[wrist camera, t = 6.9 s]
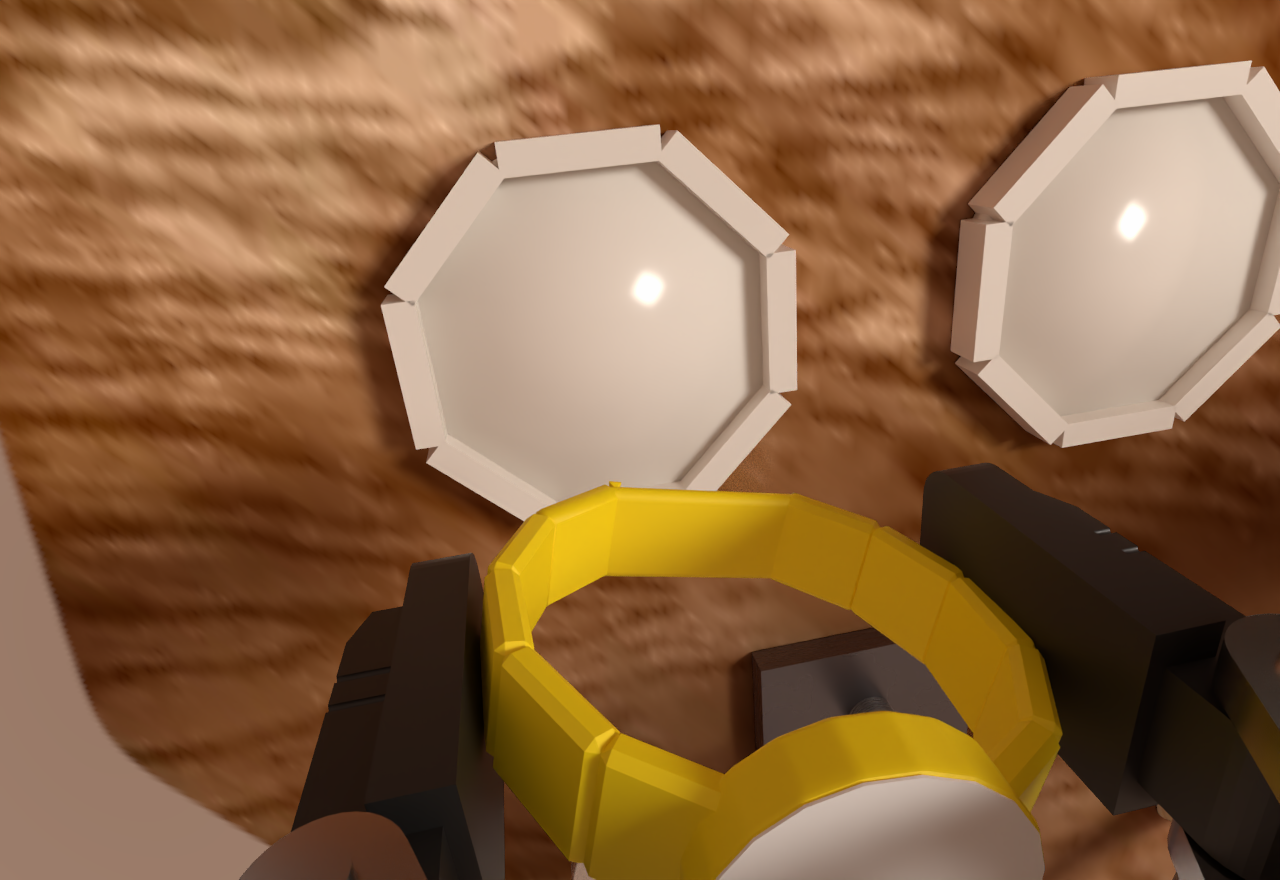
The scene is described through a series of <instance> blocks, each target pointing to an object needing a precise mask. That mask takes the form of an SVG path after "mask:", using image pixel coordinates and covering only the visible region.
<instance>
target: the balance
mask: <svg viewBox="0 0 1280 880" xmlns="http://www.w3.org/2000/svg"><path fill="white" fill-rule="evenodd" d="M752 668H753V692H754V715H755V738H756V751H757V750H758V749H760V748H761V747H763V746H764V745H766V744H767V743H769V742H770V741H772V740H773V739H775V738H777V737H779V736H781V735H784V734H786V733H789V732H791V731H794V730H797V729H799V728H802V727H805V726H807V725H810V724H813V723H815V722H818V721H821V720H823V719H826V718H830V717H835V716H842V715H850V714H858V713H866V712H874V711H893V712H900V713H907V714H914V715H921V716H927V717H931V718H935V719H938V720H940V721H942V722H944V723H946V724H948V725H950V726H952V727H954V728H955V729H957V730H959V731H961V732H963V733H965V734H967V726H968V725H967V724H966V722H965V721H964V719H963V718H962V717H961V715H960V714H959V712H958V711H957V709H956V708H955V707H954V705H953V704H952V702H951V701H950V699H949V698H948V697H947V695H946V694H945V692H944V691H943V689H942V688H941V687H940V685H939V684H938V682H937V681H936V679H935V678H934V677H933V675H932V674H931V672H930V671H929V669H928V668H927V667H926V665H925V664H923V663H922V662H920V661H919V660H917V659H916V658H915V657H913V656H912V655H911V654H909V653H908V652H907V651H905V650H904V649H902V648H901V647H900V646H898V645H897V644H896V643H894V642H893V641H891V640H890V639H889V638H887V637H886V636H885V635H883V634H882V633H881V632H879V631H878V630H876V629H875V628H870V629H865V630H860V631H855V632H850V633H845V634H840V635H835V636H831V637H826V638H821V639H816V640H811V641H806V642H801V643H796V644H791V645H786V646H781V647H776V648H771V649H766V650H761V651H756V652H752ZM571 873H572V880H596V879H593V878H591V877H589V876H588V873H587V871H586V868H585V866H584V863H575V862H572V864H571ZM1172 880H1180V879H1179V877H1178V874H1177V872H1176V874H1175V875H1174V877H1173V879H1172Z"/></svg>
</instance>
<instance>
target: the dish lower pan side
mask: <svg viewBox="0 0 1280 880" xmlns="http://www.w3.org/2000/svg"><path fill="white" fill-rule="evenodd" d="M494 143H495V149H496V155H497V158H496V159H494V160H493V161H491V160H489V159H488V158H487V157H486V156H484V155H483V154H482V153H481V152H479V151H478V152H477V154H476V155H475V157H474V158H473V160H472V161H471V163H470V164H469V165H468V167H467V168H466V170H465V171H464V173H463V174H462V175H461V177H460V178H459V180H458V181H457V183H456V184H455V185H454V187H453V188H452V190H451V191H450V193H449V194H448V196H447V197H446V198H445V200H444V201H443V203H442V204H441V206H440V207H439V208H438V210H437V211H436V213H435V214H434V216H433V217H432V219H431V220H430V221H429V223H428V224H427V226H426V227H425V229H424V230H423V231H422V233H421V234H420V236H419V237H418V239H417V240H416V242H415V243H414V244H413V246H412V247H411V249H410V250H409V252H408V253H407V254H406V256H405V257H404V259H403V260H402V262H401V263H400V265H399V266H398V267H397V269H396V270H395V272H394V273H393V275H392V276H391V277H390V279H389V280H388V282H387V283H386V285H385V286H384V287H385V288H386V289H388V290H389V291H391V292H392V293H393V294H391V295H387V297H386V298H385V299H384V301H383V302H382V304H381V308H382V312H383V316H384V321H385V325H386V329H387V333H388V337H389V341H390V345H391V349H392V353H393V357H394V361H395V366H396V370H397V374H398V378H399V382H400V386H401V390H402V394H403V398H404V402H405V407H406V411H407V415H408V419H409V423H410V427H411V431H412V435H413V439H414V443H415V447H416V450H418V449H424V448H429V452H428V456H427V461H426V463H427V464H429V465H431V466H432V467H434V468H436V469H437V470H439V471H441V472H442V473H444V474H446V475H447V476H449V477H451V478H452V479H454V480H456V481H457V482H459V483H461V484H462V485H464V486H466V487H467V488H469V489H471V490H472V491H474V492H476V493H477V494H479V495H481V496H482V497H484V498H486V499H487V500H489V501H491V502H493V503H494V504H496V505H498V506H499V507H501V508H503V509H504V510H506V511H508V512H509V513H511V514H513V515H514V516H516V517H518V518H519V519H521V520H523V521H525V520H526V519H527V518H528V517H530V516H531V515H533V514H536V512H537V511H539V510H540V509H542V508H545V507H547V506H550V505H553V504H555V503H558V502H560V501H563V500H566V499H568V498H571V497H573V496H576V495H579V494H581V493H584V492H586V491H589V490H592V489H594V488H597V487H599V486H602V485H607V486H609V481H614V482H621V486H620V487H632V488H656V489H680V490H704V491H717V489H718V488H719V487H720V486H721V485H722V484H723V483H724V481H725V480H726V479H727V478H728V477H729V476H730V475H731V473H732V472H733V471H734V470H735V469H736V468H737V467H738V465H739V464H740V463H741V462H742V461H743V460H744V458H745V457H746V456H747V455H748V454H749V453H750V452H751V450H752V449H753V448H754V447H755V446H756V445H757V444H758V442H759V441H760V440H761V439H762V438H763V437H764V436H765V434H766V433H767V432H768V431H769V430H770V429H771V428H772V426H773V425H774V424H775V423H776V422H777V421H778V419H779V418H780V417H781V416H782V415H783V414H784V413H785V411H786V410H787V409H788V408H789V407H790V406H791V404H790V403H789V402H788V401H787V400H786V399H785V398H784V397H783V396H782V395H781V394H780V393H781V392H787V391H793V390H797V325H796V250H794V249H792V248H789V247H787V246H784V245H782V243H783V241H784V240H785V239H786V238H787V237H788V235H789V234H788V233H787V232H786V231H785V230H784V229H783V228H782V227H781V226H780V225H778V224H777V223H776V222H775V221H774V220H773V219H772V218H771V217H770V216H769V215H768V214H767V213H766V212H765V211H763V210H762V209H761V208H760V207H759V206H758V205H757V204H756V203H755V202H754V201H753V200H752V199H751V198H749V197H748V196H747V195H746V194H745V193H744V192H743V191H742V190H741V189H740V188H739V187H738V186H737V185H735V184H734V183H733V182H732V181H731V180H730V179H729V178H728V177H727V176H726V175H725V174H724V173H723V172H721V171H720V170H719V169H718V168H717V167H716V166H715V165H714V164H713V163H712V162H711V161H710V160H709V159H707V158H706V157H705V156H704V155H703V154H702V153H701V152H700V151H699V150H698V149H697V148H696V147H695V146H693V145H692V144H691V143H690V142H689V141H688V140H687V139H686V138H685V137H684V136H683V135H682V134H681V133H679V132H678V131H666V132H665V134H664V135H663V136H662V138H661V136H660V125H644V126H635V127H626V128H616V129H607V130H598V131H589V132H579V133H570V134H561V135H551V136H542V137H533V138H524V139H514V140H505V141H496V142H494Z"/></svg>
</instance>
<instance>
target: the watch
mask: <svg viewBox="0 0 1280 880" xmlns="http://www.w3.org/2000/svg"><path fill="white" fill-rule="evenodd" d="M620 486H621V482H614V481H609V486H607V485H602V486H599V487H597V488H594V489H592V490H589V491H586V492H584V493H581V494H579V495H576V496H573V497H571V498H568V499H566V500H563V501H560V502H558V503H555V504H553V505H550V506H547V507H545V508H542V509H540V510H539V511H537V512H536V514H533V515H531V516H530V517H528V518H527V519H526V520H525V521H524V522H523V524H522V525H521V526H520V527H519V529H518V530H517V531H516V532H515V534H514V535H513V536H512V537H511V539H510V540H509V541H508V542H507V544H506V545H505V546H504V547H503V549H502V550H501V551H500V552H499V554H498V555H497V556H496V557H495V559H494V560H493V561H492V562H491V564H490V565H489V566H488V575H487V576H486V577H485V581H484V595H483V610H482V624H481V638H480V657H481V678H482V698H483V719H484V735H485V746H486V752H488V753H489V754H490V755H492V756H493V757H494V760H493V768H494V770H495V771H496V772H497V773H498V775H499V776H500V777H501V778H502V779H503V781H504V782H505V783H506V784H507V786H508V787H509V788H510V789H511V790H512V792H513V793H514V794H515V795H516V797H517V798H518V799H519V800H520V802H521V803H522V804H523V805H524V806H525V808H526V809H527V810H528V811H529V813H530V814H531V815H532V816H533V818H534V819H535V820H536V821H537V822H538V824H539V825H540V826H541V827H542V829H543V830H544V831H545V832H546V834H547V835H548V836H549V837H550V838H551V840H552V841H553V842H554V843H555V845H556V846H557V847H558V848H559V850H560V851H561V852H562V853H563V854H564V856H565V857H566V858H567V859H568V861H571V862H575V863H584V866H585V868H586V871H587V873H588V876H589V877H591V878H593V879H596V880H1042V878H1043V875H1044V871H1045V865H1044V856H1043V849H1042V843H1041V836H1040V830H1039V827H1038V824H1037V822H1036V820H1035V818H1034V817H1033V816H1032V814H1031V811H1032V808H1033V806H1034V804H1035V802H1036V800H1037V797H1038V795H1039V793H1040V791H1041V789H1042V786H1043V784H1044V782H1045V780H1046V778H1047V775H1048V773H1049V771H1050V769H1051V767H1052V764H1053V762H1054V760H1055V758H1056V756H1057V753H1058V751H1059V749H1060V746H1059V744H1058V743H1059V741H1060V739H1061V737H1062V734H1063V733H1062V729H1061V725H1060V721H1059V717H1058V713H1057V709H1056V705H1055V701H1054V697H1053V692H1052V688H1051V684H1050V680H1049V676H1048V672H1047V668H1046V664H1045V660H1044V658H1043V657H1042V655H1041V653H1040V652H1039V650H1038V649H1035V645H1034V642H1033V641H1032V639H1031V638H1030V637H1029V636H1028V635H1027V634H1026V633H1025V632H1024V631H1023V630H1022V629H1021V628H1020V627H1019V626H1018V625H1017V624H1016V622H1015V621H1014V620H1012V619H1011V618H1010V617H1009V616H1008V615H1007V614H1006V613H1005V612H1004V611H1003V610H1002V609H1001V608H1000V607H999V606H998V605H997V604H996V603H995V602H994V601H993V600H991V599H990V598H989V597H988V596H987V595H986V594H985V593H984V592H983V591H982V590H981V589H980V588H979V587H978V586H977V585H976V584H975V583H974V582H973V581H972V580H970V579H969V578H964V576H963V573H962V571H961V570H960V569H959V568H958V567H956V566H955V565H953V564H951V563H950V562H948V561H946V560H945V559H943V558H941V557H939V556H938V555H936V554H934V553H933V552H931V551H929V550H928V549H926V548H924V547H922V546H921V545H919V544H917V543H916V542H914V541H912V540H911V539H909V538H907V537H905V536H904V535H902V534H900V533H899V532H897V531H895V530H893V529H892V528H890V527H888V526H885V527H881V528H880V526H879V525H878V523H877V521H875V520H872V519H869V518H866V517H863V516H861V515H858V514H855V513H852V512H849V511H846V510H843V509H840V508H837V507H834V506H831V505H828V504H826V503H823V502H820V501H817V500H814V499H811V498H808V497H805V496H802V495H799V494H796V493H793V494H776V493H752V492H728V491H704V490H680V489H656V488H632V487H620ZM603 576H642V577H716V578H771V579H772V580H775V581H777V582H780V583H782V584H785V585H787V586H790V587H792V588H795V589H797V590H800V591H802V592H805V593H807V594H810V595H812V596H815V597H817V598H820V599H822V600H825V601H827V602H830V603H832V604H835V605H837V606H840V607H842V608H845V609H847V610H852V611H853V612H854V613H855V614H856V615H857V616H859V617H860V618H861V619H863V620H864V621H866V622H867V623H868V624H870V625H871V626H872V627H874V628H875V629H876V630H878V631H879V632H881V633H882V634H883V635H885V636H886V637H887V638H889V639H890V640H891V641H893V642H894V643H896V644H897V645H898V646H900V647H901V648H902V649H904V650H905V651H907V652H908V653H909V654H911V655H912V656H913V657H915V658H916V659H917V660H919V661H920V662H922V663H923V664H925V665H926V667H927V668H928V669H929V671H930V672H931V674H932V675H933V677H934V678H935V679H936V681H937V682H938V684H939V685H940V687H941V688H942V689H943V691H944V692H945V694H946V695H947V697H948V698H949V699H950V701H951V702H952V704H953V705H954V707H955V708H956V709H957V711H958V712H959V714H960V715H961V717H962V718H963V719H964V721H965V722H966V724H967V725H968V727H969V728H970V729H971V731H972V732H973V738H974V739H973V738H972V737H970V736H969V735H967V734H965V733H963V732H961V731H959V730H957V729H955V728H954V727H952V726H950V725H948V724H946V723H944V722H942V721H940V720H938V719H935V718H931V717H927V716H921V715H914V714H907V713H900V712H893V711H874V712H866V713H858V714H850V715H842V716H835V717H830V718H826V719H823V720H821V721H818V722H815V723H813V724H810V725H807V726H805V727H802V728H799V729H797V730H794V731H791V732H789V733H786V734H784V735H781V736H779V737H777V738H775V739H773V740H772V741H770V742H769V743H767V744H766V745H764V746H763V747H761V748H760V749H758V750H757V751H755V752H754V753H752V754H751V755H749V756H748V757H746V758H745V759H743V760H742V761H740V762H739V763H737V764H736V765H734V766H733V767H732V768H731V769H730V770H729V771H728V772H727V773H726V774H722V773H720V772H717V771H715V770H712V769H710V768H707V767H705V766H702V765H700V764H697V763H695V762H692V761H690V760H687V759H685V758H682V757H680V756H677V755H675V754H672V753H670V752H667V751H665V750H662V749H660V748H657V747H655V746H652V745H650V744H647V743H644V742H642V741H639V740H637V739H634V738H632V737H629V736H627V735H624V734H622V733H620V732H619V731H618V730H617V729H616V728H615V727H614V726H613V725H612V724H611V723H610V722H609V721H608V720H607V719H606V718H605V717H604V716H603V715H602V714H601V713H600V712H599V711H598V710H597V709H596V708H595V707H594V706H592V705H591V704H590V703H589V702H588V701H587V700H586V699H585V698H584V697H583V696H582V695H581V694H580V693H579V692H578V691H577V690H576V689H575V688H574V687H573V686H572V685H571V684H570V683H569V682H568V681H567V680H565V679H564V678H563V677H562V676H561V675H560V674H559V673H558V672H557V671H556V670H555V669H554V668H553V667H552V666H551V665H550V664H549V663H548V662H547V661H546V660H545V659H544V658H543V657H542V656H541V655H540V654H538V653H537V652H536V651H535V650H534V644H533V639H532V634H531V632H532V630H533V628H534V627H535V625H536V623H537V622H538V620H539V618H540V617H541V615H542V613H543V612H544V610H545V608H546V606H548V605H550V604H552V603H553V602H555V601H557V600H559V599H561V598H563V597H565V596H567V595H569V594H571V593H572V592H574V591H576V590H578V589H580V588H582V587H584V586H586V585H588V584H589V583H591V582H593V581H595V580H597V579H599V578H601V577H603Z"/></svg>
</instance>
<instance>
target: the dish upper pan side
mask: <svg viewBox="0 0 1280 880" xmlns="http://www.w3.org/2000/svg"><path fill="white" fill-rule="evenodd" d="M1251 62H1252V61H1243V62H1232V63H1222V64H1211V65H1202V66H1192V67H1183V68H1174V69H1164V70H1155V71H1146V72H1137V73H1127V74H1118V75H1109V76H1099V77H1090V78H1085V81H1084V86H1072V87H1069V88H1068V89H1067V91H1066V92H1065V93H1064V94H1063V95H1062V96H1061V98H1060V99H1059V100H1058V101H1057V102H1056V103H1055V104H1054V106H1053V107H1052V108H1051V109H1050V110H1049V111H1048V112H1047V114H1046V115H1045V116H1044V117H1043V118H1042V119H1041V120H1040V122H1039V123H1038V124H1037V125H1036V126H1035V127H1034V128H1033V130H1032V131H1031V132H1030V133H1029V134H1028V135H1027V136H1026V138H1025V139H1024V140H1023V141H1022V142H1021V143H1020V145H1019V146H1018V147H1017V148H1016V149H1015V150H1014V151H1013V153H1012V154H1011V155H1010V156H1009V157H1008V158H1007V159H1006V161H1005V162H1004V163H1003V164H1002V165H1001V166H1000V167H999V169H998V170H997V171H996V172H995V173H994V174H993V175H992V177H991V178H990V179H989V180H988V181H987V182H986V183H985V185H984V186H983V187H982V188H981V189H980V190H979V192H978V193H977V194H976V195H975V196H974V197H973V198H972V200H971V201H970V202H969V203H968V205H969V206H970V207H971V208H972V209H973V210H974V211H975V212H976V213H975V215H974V217H973V218H972V219H964V220H961V224H960V237H959V249H958V262H957V274H956V287H955V300H954V312H953V325H952V337H951V350H950V351H951V352H954V353H956V354H958V355H960V356H961V357H960V358H959V359H958V360H957V361H956V362H955V364H956V365H957V366H958V367H959V368H960V369H961V370H962V371H963V372H964V373H965V374H967V375H968V376H969V377H970V378H971V379H972V380H973V381H974V382H975V383H976V384H977V385H978V386H979V387H980V388H981V389H982V390H983V391H984V392H985V393H987V394H988V395H989V396H990V397H991V398H992V399H993V400H994V401H995V402H996V403H997V404H998V405H999V406H1000V407H1001V408H1002V409H1003V410H1004V411H1005V412H1006V413H1008V414H1009V415H1010V416H1011V417H1012V418H1013V419H1014V420H1015V421H1016V422H1017V423H1018V424H1019V425H1020V426H1021V427H1022V428H1023V429H1024V430H1025V431H1027V432H1029V433H1031V434H1032V435H1034V436H1036V437H1038V438H1039V439H1041V440H1043V441H1045V442H1046V443H1048V444H1050V445H1051V444H1052V443H1054V444H1056V445H1058V446H1060V447H1061V448H1064V447H1069V446H1075V445H1081V444H1086V443H1092V442H1098V441H1104V440H1109V439H1115V438H1121V437H1126V436H1132V435H1138V434H1144V433H1149V432H1155V431H1161V430H1166V429H1172V425H1173V421H1174V417H1175V418H1177V419H1180V420H1182V421H1184V422H1185V421H1186V420H1187V419H1188V418H1189V417H1190V416H1191V415H1192V414H1193V413H1194V412H1195V411H1196V410H1197V409H1198V408H1199V407H1200V406H1201V405H1202V404H1203V403H1204V402H1205V401H1206V400H1207V399H1208V398H1209V397H1210V396H1211V395H1212V394H1213V393H1214V392H1215V391H1216V390H1217V389H1218V388H1219V387H1220V386H1221V385H1222V384H1223V383H1224V382H1225V381H1226V380H1227V379H1228V378H1229V377H1230V376H1231V375H1232V374H1233V373H1234V372H1236V371H1237V370H1238V369H1239V368H1240V367H1241V366H1242V365H1243V364H1244V363H1245V362H1246V361H1247V360H1248V359H1249V358H1250V357H1251V356H1252V355H1253V354H1254V353H1255V352H1256V351H1257V350H1258V349H1259V348H1260V347H1261V346H1262V345H1263V344H1264V343H1265V342H1266V341H1267V340H1268V339H1269V338H1270V337H1271V336H1272V335H1273V334H1274V333H1275V332H1276V331H1277V330H1278V329H1279V328H1280V324H1279V323H1278V321H1277V320H1276V319H1275V317H1274V316H1273V315H1278V314H1280V92H1279V90H1278V88H1277V87H1276V85H1275V84H1274V82H1273V80H1272V79H1271V77H1270V75H1269V74H1268V72H1267V70H1266V69H1265V67H1252V68H1250V67H1251Z"/></svg>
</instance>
